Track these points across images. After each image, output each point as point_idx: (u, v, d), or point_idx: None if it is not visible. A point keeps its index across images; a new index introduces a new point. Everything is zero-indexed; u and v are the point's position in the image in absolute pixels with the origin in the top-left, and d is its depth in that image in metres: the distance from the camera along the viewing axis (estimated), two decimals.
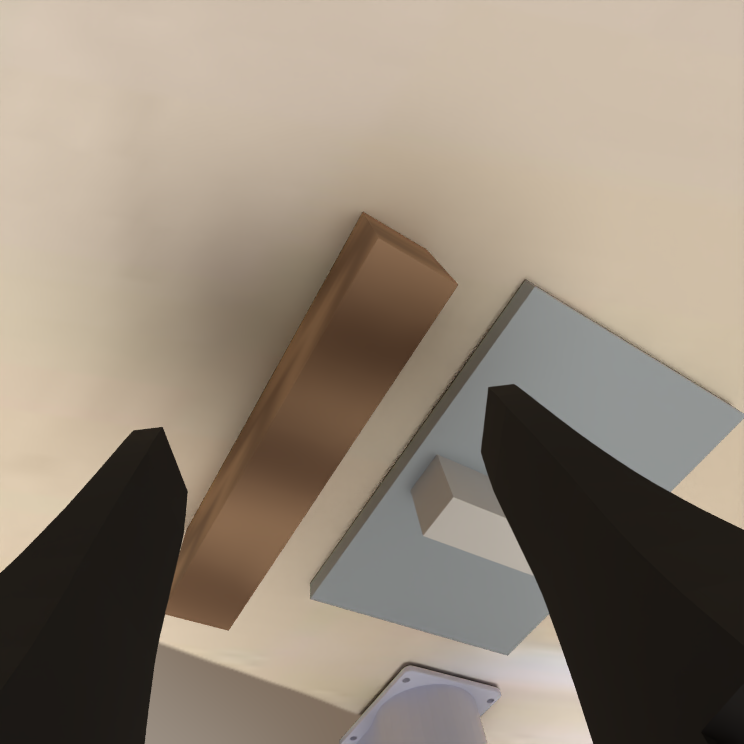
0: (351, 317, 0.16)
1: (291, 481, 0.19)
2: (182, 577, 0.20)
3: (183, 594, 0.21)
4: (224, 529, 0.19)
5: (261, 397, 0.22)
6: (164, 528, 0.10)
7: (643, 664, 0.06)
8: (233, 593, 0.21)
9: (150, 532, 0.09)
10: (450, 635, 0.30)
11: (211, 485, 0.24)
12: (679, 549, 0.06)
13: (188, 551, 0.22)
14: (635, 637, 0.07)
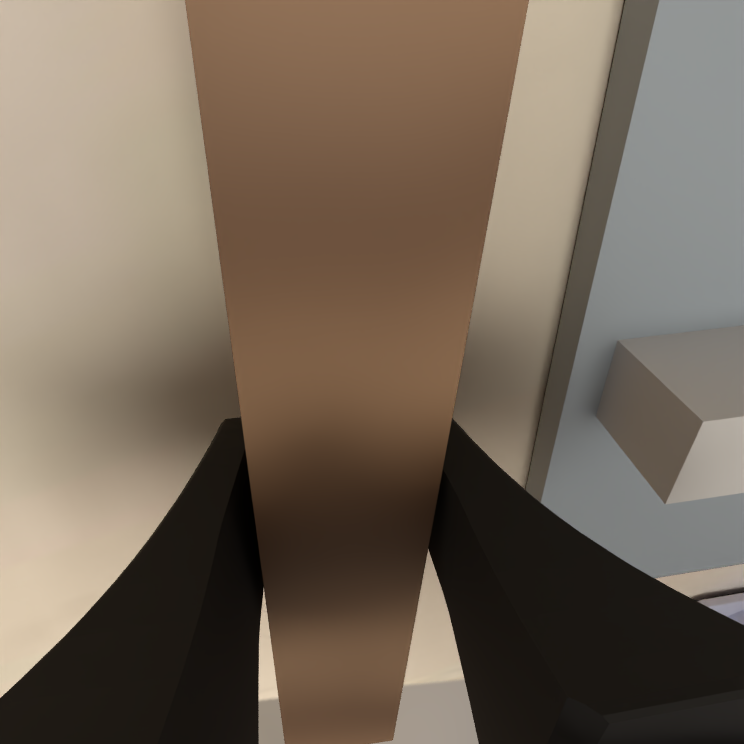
0: (264, 170, 0.05)
1: (361, 563, 0.09)
2: (282, 719, 0.12)
3: (299, 732, 0.13)
4: (298, 658, 0.11)
5: None
6: None
7: (505, 689, 0.06)
8: (370, 709, 0.13)
9: (251, 518, 0.09)
10: None
11: None
12: (537, 572, 0.06)
13: None
14: (499, 661, 0.06)
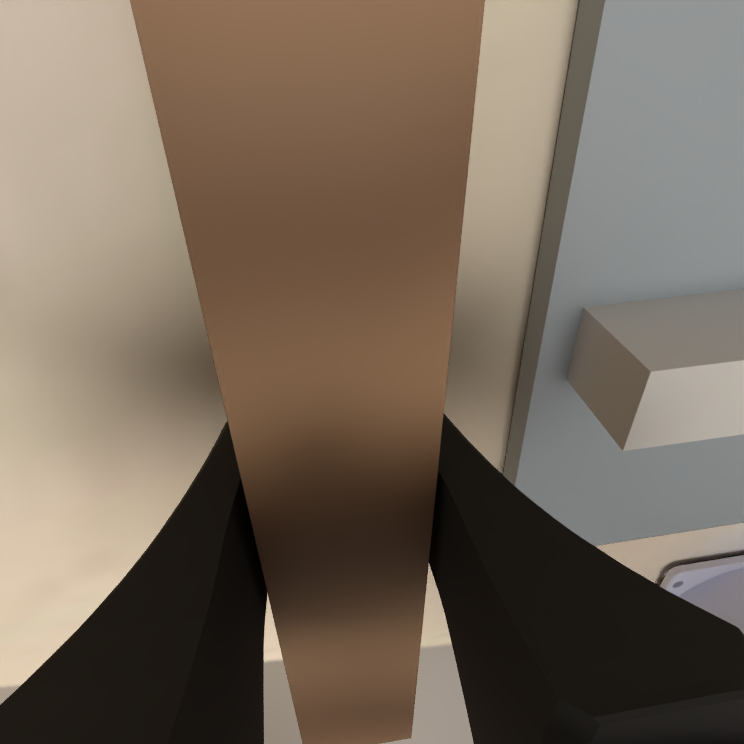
0: (229, 178, 0.05)
1: (363, 565, 0.09)
2: (298, 721, 0.12)
3: (316, 733, 0.13)
4: (308, 661, 0.11)
5: None
6: None
7: (498, 691, 0.06)
8: (385, 709, 0.13)
9: None
10: (720, 522, 0.20)
11: None
12: (530, 572, 0.06)
13: None
14: (492, 662, 0.06)
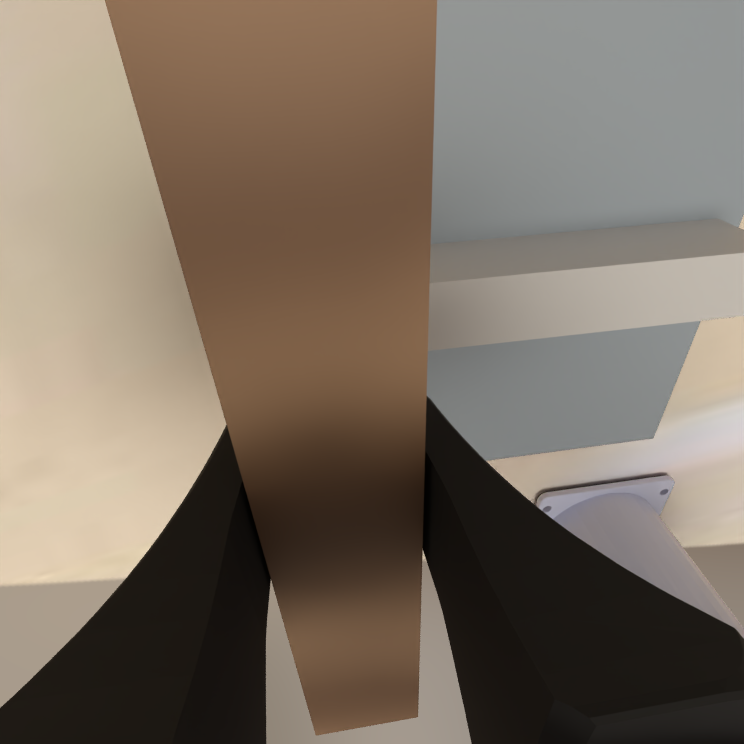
0: (209, 176, 0.05)
1: (359, 544, 0.09)
2: (307, 699, 0.13)
3: (325, 712, 0.13)
4: (312, 639, 0.11)
5: None
6: None
7: (495, 690, 0.06)
8: (391, 687, 0.13)
9: None
10: (565, 445, 0.24)
11: None
12: (528, 573, 0.06)
13: None
14: (490, 662, 0.06)
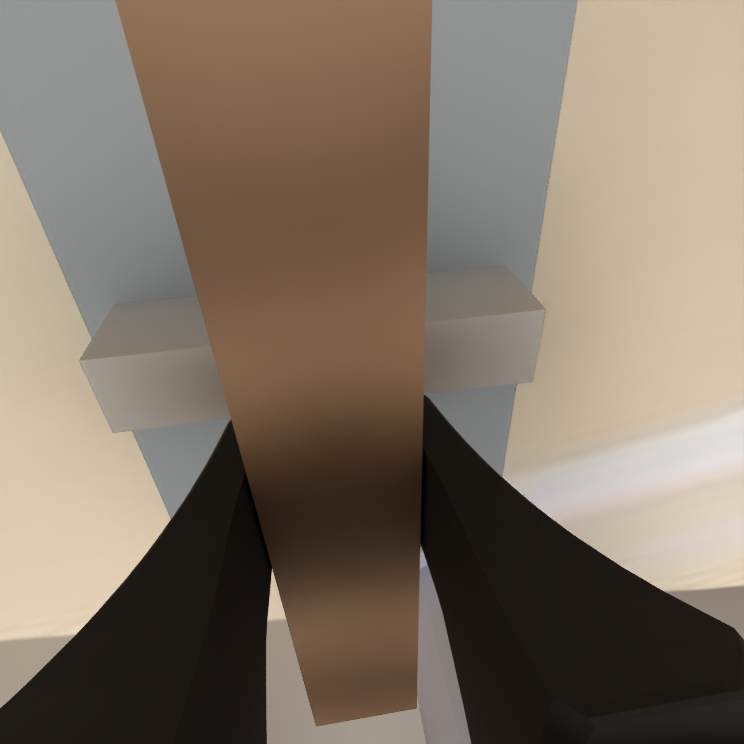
0: (214, 173, 0.06)
1: (358, 534, 0.10)
2: (307, 690, 0.13)
3: (325, 702, 0.14)
4: (312, 629, 0.11)
5: None
6: None
7: (495, 691, 0.06)
8: (390, 678, 0.13)
9: None
10: None
11: None
12: (527, 572, 0.06)
13: None
14: (489, 662, 0.06)
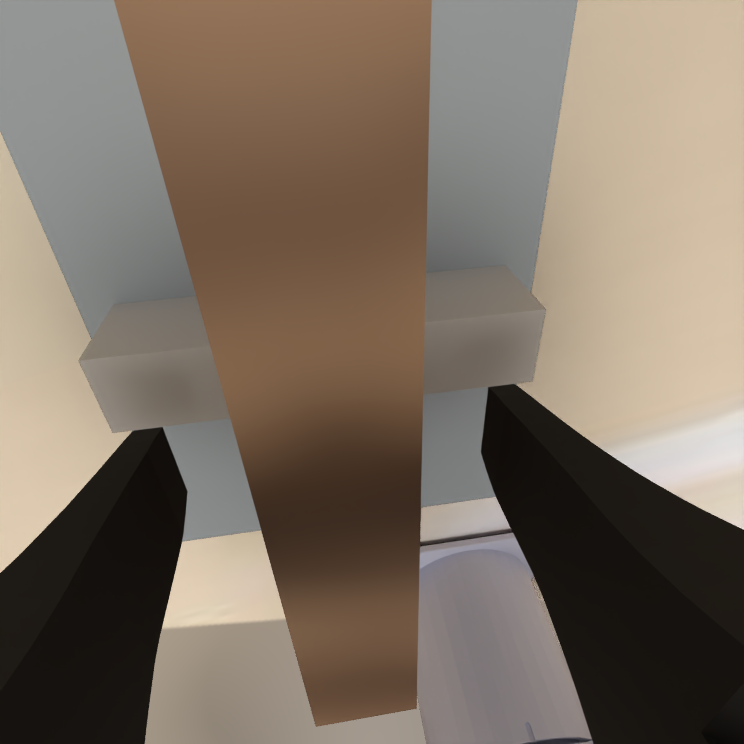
0: (213, 172, 0.06)
1: (358, 534, 0.10)
2: (307, 690, 0.13)
3: (324, 703, 0.14)
4: (312, 629, 0.11)
5: None
6: (164, 528, 0.10)
7: (644, 664, 0.06)
8: (390, 678, 0.13)
9: (150, 532, 0.09)
10: None
11: None
12: (680, 549, 0.06)
13: None
14: (635, 637, 0.07)
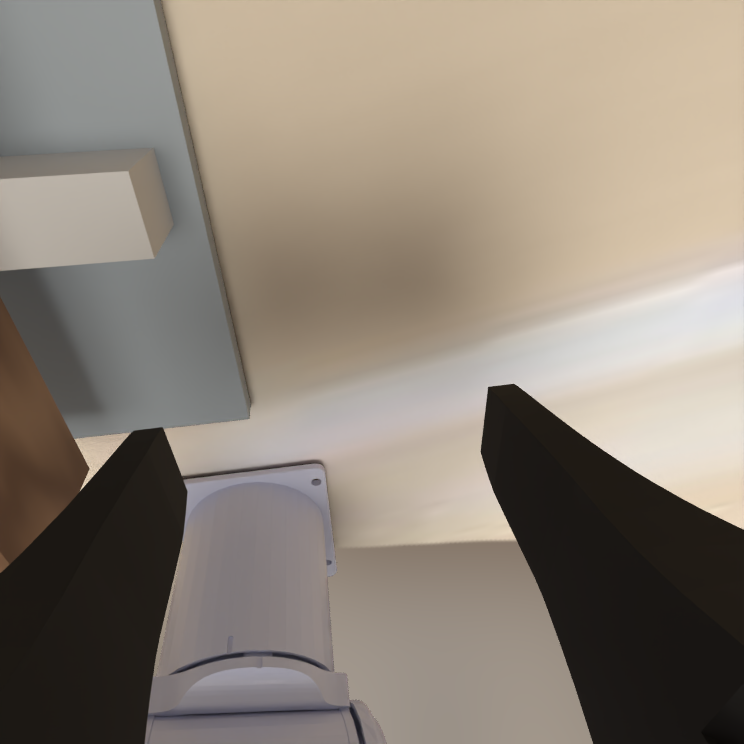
0: None
1: None
2: None
3: None
4: None
5: None
6: (164, 528, 0.10)
7: (643, 665, 0.06)
8: None
9: (150, 532, 0.09)
10: (137, 426, 0.21)
11: None
12: (679, 549, 0.06)
13: None
14: (635, 637, 0.07)
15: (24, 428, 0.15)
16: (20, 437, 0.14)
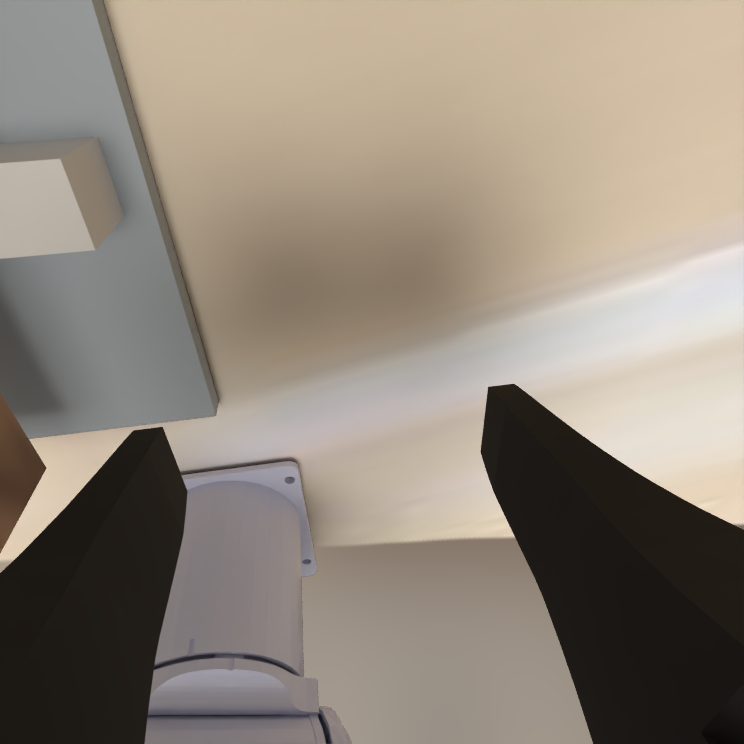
0: None
1: None
2: None
3: None
4: None
5: None
6: (164, 528, 0.10)
7: (643, 664, 0.06)
8: None
9: (150, 532, 0.09)
10: (101, 424, 0.21)
11: None
12: (679, 549, 0.06)
13: None
14: (635, 637, 0.07)
15: None
16: None
